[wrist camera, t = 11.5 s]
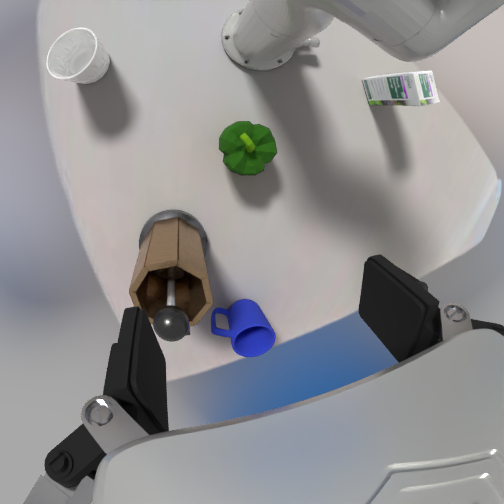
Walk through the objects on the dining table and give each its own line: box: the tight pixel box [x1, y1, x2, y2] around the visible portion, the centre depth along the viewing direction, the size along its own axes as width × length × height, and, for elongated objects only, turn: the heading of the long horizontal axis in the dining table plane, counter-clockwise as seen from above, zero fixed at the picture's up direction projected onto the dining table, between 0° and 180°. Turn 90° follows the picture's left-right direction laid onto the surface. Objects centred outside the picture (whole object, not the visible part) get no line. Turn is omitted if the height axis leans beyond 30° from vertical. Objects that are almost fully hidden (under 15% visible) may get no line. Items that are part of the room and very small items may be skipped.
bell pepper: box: [219, 121, 277, 175], centre depth 40 cm, size 8×8×10 cm
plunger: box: [153, 266, 189, 341], centre depth 36 cm, size 8×8×19 cm
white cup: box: [47, 28, 110, 84], centre depth 28 cm, size 8×8×10 cm
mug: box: [211, 299, 275, 357], centre depth 54 cm, size 8×12×10 cm
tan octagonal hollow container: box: [129, 210, 213, 336], centre depth 42 cm, size 12×14×18 cm
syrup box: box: [362, 71, 440, 106], centre depth 38 cm, size 6×6×14 cm
